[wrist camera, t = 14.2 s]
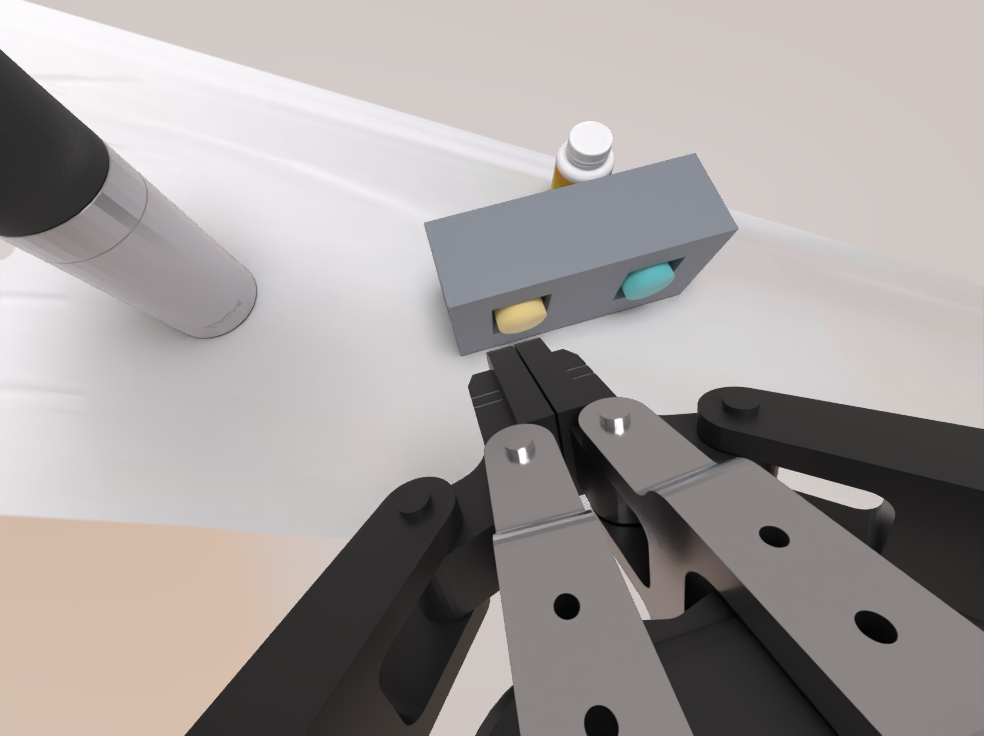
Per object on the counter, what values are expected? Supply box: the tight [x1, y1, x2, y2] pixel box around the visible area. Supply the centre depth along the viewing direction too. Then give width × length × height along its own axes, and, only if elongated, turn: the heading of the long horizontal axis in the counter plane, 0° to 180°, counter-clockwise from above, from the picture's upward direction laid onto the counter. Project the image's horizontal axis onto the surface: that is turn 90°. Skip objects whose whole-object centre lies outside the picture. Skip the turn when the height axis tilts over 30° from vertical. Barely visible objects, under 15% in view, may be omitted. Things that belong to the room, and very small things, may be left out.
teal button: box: [621, 262, 675, 300], centre depth 37 cm, size 3×4×4 cm
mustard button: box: [493, 297, 547, 334], centre depth 36 cm, size 3×4×4 cm
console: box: [424, 153, 739, 356], centre depth 38 cm, size 8×24×11 cm, turn 107°
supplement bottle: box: [551, 121, 614, 190], centre depth 41 cm, size 6×6×10 cm
